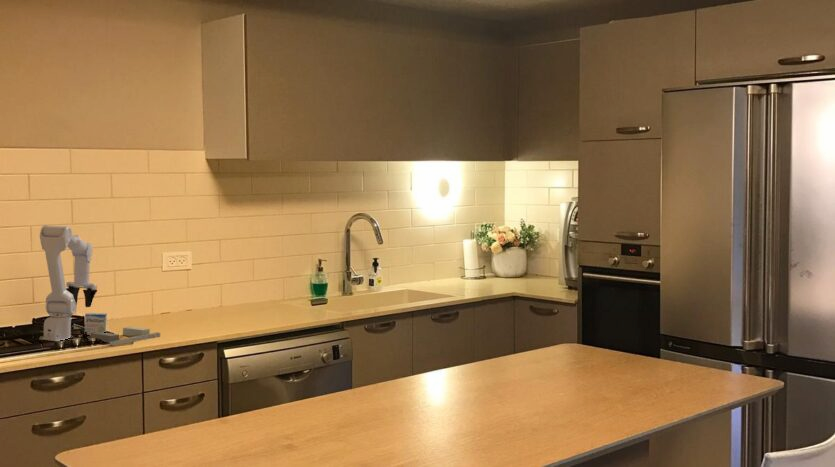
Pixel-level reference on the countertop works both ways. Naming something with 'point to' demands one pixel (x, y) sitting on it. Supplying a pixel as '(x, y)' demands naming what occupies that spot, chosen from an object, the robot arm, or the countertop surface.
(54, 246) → the robot arm
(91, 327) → the medicine box
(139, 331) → the mounted modules
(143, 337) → the din rail
